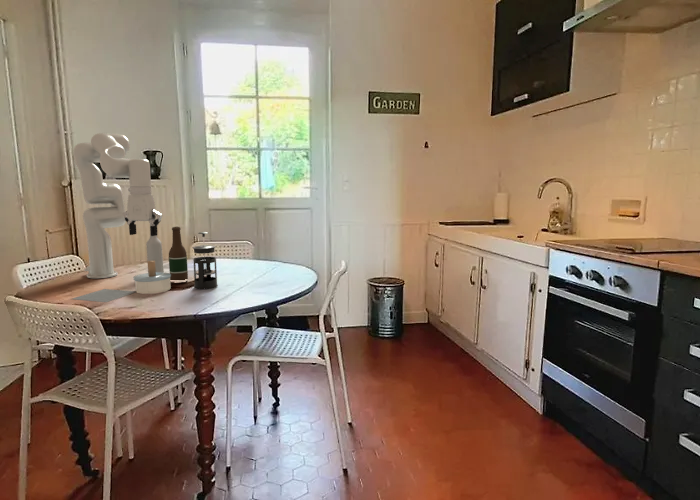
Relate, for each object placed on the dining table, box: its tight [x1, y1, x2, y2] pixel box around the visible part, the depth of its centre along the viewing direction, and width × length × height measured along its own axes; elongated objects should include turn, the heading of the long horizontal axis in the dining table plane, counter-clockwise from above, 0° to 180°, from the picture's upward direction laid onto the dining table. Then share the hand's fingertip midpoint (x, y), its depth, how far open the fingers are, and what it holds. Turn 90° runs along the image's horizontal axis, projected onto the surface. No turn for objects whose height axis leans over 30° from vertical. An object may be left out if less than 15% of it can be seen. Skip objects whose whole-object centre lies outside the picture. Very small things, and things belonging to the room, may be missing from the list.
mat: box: [71, 288, 137, 303], centre depth 172 cm, size 16×16×1 cm
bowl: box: [134, 278, 172, 295], centre depth 180 cm, size 12×12×6 cm
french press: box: [192, 231, 219, 290], centre depth 186 cm, size 12×9×23 cm
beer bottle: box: [168, 226, 189, 280], centre depth 196 cm, size 8×8×24 cm
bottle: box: [145, 223, 165, 273], centre depth 203 cm, size 7×7×28 cm
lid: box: [133, 260, 171, 282], centre depth 179 cm, size 14×14×7 cm
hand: (143, 235), depth 178 cm, fingers open, 9 cm apart
